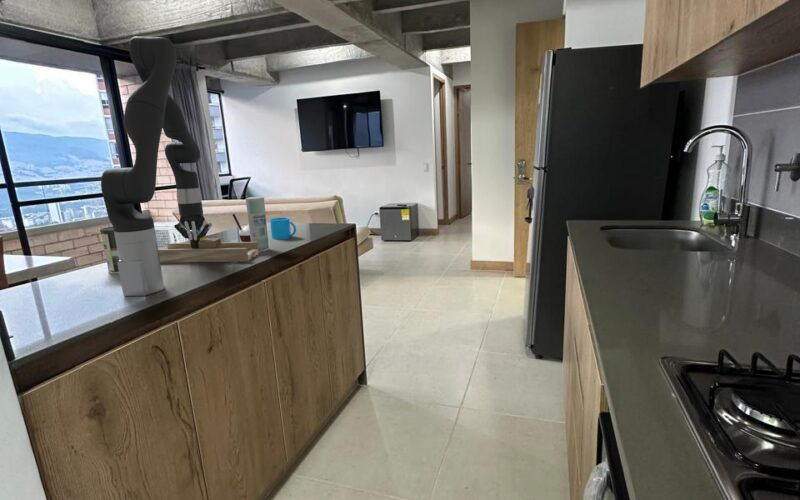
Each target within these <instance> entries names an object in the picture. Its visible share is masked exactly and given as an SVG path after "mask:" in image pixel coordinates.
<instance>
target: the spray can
mask: <svg viewBox="0 0 800 500" xmlns="http://www.w3.org/2000/svg"><path fill="white" fill-rule="evenodd" d="M245 204H246V212H247V221H248V227H249V230H250V239H251V242H258V244H259V253H261V251H263V252H266V250H267V251H269V250H270V247H269V236H268V226H267V225H268V223H267V216H266V214H267V213H266V206H265V205H266V204H265V196H252V197H251V196H250V197H246V198H245Z"/></svg>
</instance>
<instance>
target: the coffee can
mask: <svg viewBox="0 0 800 500" xmlns="http://www.w3.org/2000/svg"><path fill="white" fill-rule="evenodd" d="M99 232H100V233H101V239H102V244H103V250H104V254H105V260H106V264H107V269H108V270H107V271H108V273H109V274H112V275H120V274H119V269H118V264H117V262H118V261H119V256H118V250H117V245H116V239H115V234H114V229H113V226H109V227H108V226H107V227H103V228H101V229H100V230H99Z"/></svg>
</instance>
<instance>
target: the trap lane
mask: <svg viewBox="0 0 800 500" xmlns="http://www.w3.org/2000/svg"><path fill="white" fill-rule="evenodd" d="M221 243H222V248H215V249H192V248H191V243H190V242H177V243H176V242H171V243H170V242H168V243H167V244H166V246H167V248H166V249H165V248H164V249H161V248H158V252H159V258H160V264H162V263H163V264H164V263H165V264H166V263H167V264H169V263H222V262H223V263H225V262H226V263H228V262H229V263H230V262H231V263H232V262H238V261H240V262H249V261H250V260H252V259H254V258H256V257H257V256H258V255H260V252H259V244H258V242H242V241H232V242H231V241H228V242H224V241H223V242H222V241H221ZM256 255H257V256H256ZM253 257H254V258H253Z"/></svg>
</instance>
